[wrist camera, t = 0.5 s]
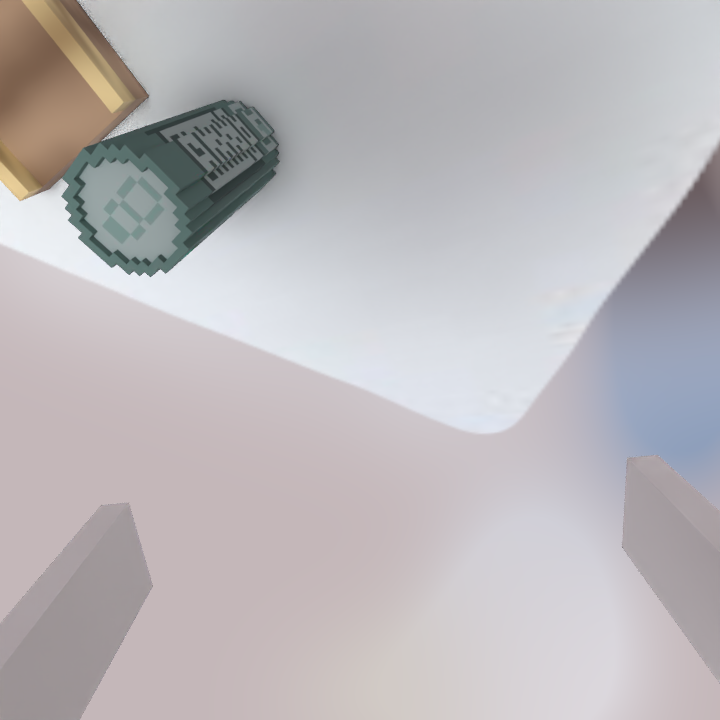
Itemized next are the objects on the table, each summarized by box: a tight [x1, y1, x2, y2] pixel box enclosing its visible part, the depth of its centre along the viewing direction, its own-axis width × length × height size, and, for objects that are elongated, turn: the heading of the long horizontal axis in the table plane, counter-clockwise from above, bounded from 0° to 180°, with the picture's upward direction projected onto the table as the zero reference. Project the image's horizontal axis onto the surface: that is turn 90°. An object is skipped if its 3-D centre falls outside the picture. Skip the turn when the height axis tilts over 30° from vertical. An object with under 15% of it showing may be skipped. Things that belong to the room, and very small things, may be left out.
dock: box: [0, 0, 149, 201], centre depth 34 cm, size 12×12×3 cm
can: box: [61, 100, 280, 277], centre depth 30 cm, size 6×6×15 cm
